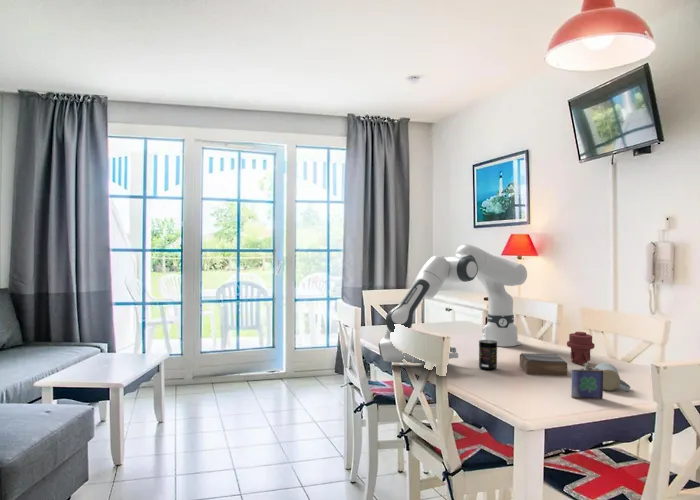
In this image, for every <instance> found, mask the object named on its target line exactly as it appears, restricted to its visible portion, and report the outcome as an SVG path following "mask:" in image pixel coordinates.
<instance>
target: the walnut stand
mask: <svg viewBox="0 0 700 500" xmlns="http://www.w3.org/2000/svg"><path fill="white" fill-rule="evenodd" d="M519 367H520V368H521V370H523V371H524V372H525V373H526V375H536V376H537V375H539V376H542V375H543V376H566V377H568V363H567V361H565V359H563V358H562V357H561V356H559V355H558V354H557V353H556V354H555V353H531V352H530V353H527V352H525V353H523V352H521V353H520V354H519Z"/></svg>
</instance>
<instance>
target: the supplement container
mask: <svg viewBox="0 0 700 500" xmlns="http://www.w3.org/2000/svg"><path fill="white" fill-rule="evenodd" d="M497 367H498V346H497V341H494V340H481V339H479V340H478V368H479V369H480V370H483V371H488V372H489V371H490V372H491V371H496V370H497Z"/></svg>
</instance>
